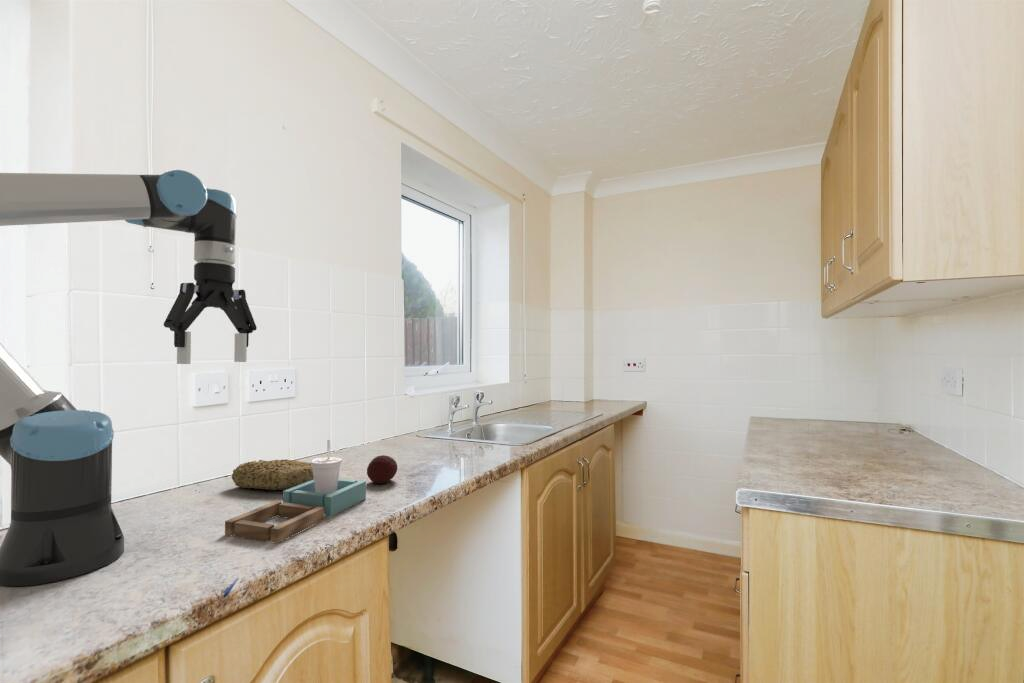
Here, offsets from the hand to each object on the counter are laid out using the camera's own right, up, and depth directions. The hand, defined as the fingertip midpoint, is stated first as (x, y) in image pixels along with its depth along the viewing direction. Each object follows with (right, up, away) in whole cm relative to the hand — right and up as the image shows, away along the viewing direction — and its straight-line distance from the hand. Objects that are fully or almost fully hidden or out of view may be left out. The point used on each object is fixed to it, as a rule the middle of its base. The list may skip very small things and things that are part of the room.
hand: (213, 363), depth 104 cm
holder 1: (+19, -31, -12) cm, 38 cm away
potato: (+31, -31, +19) cm, 48 cm away
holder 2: (+23, -31, +2) cm, 39 cm away
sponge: (+8, -31, +14) cm, 35 cm away
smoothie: (+23, -31, +2) cm, 39 cm away
